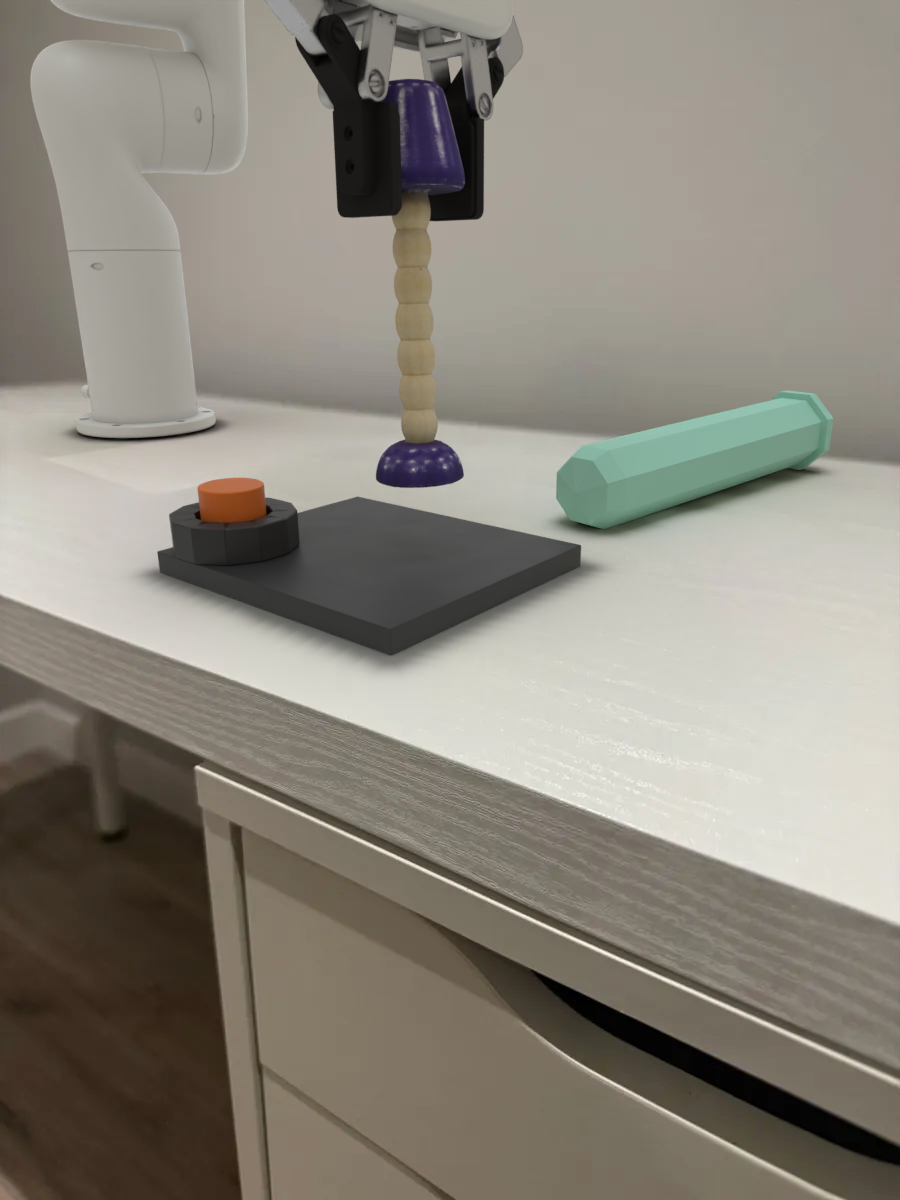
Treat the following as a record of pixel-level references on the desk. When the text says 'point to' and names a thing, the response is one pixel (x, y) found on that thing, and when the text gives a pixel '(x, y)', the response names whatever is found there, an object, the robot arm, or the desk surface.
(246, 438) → the desk surface
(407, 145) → the toy lamp
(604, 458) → the container
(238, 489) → the button
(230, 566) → the scale
